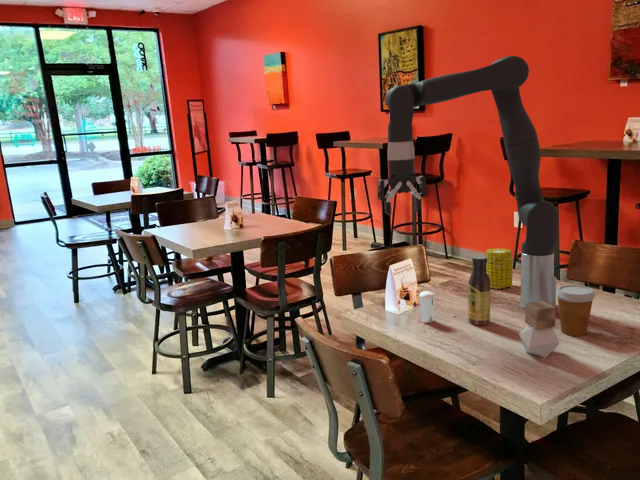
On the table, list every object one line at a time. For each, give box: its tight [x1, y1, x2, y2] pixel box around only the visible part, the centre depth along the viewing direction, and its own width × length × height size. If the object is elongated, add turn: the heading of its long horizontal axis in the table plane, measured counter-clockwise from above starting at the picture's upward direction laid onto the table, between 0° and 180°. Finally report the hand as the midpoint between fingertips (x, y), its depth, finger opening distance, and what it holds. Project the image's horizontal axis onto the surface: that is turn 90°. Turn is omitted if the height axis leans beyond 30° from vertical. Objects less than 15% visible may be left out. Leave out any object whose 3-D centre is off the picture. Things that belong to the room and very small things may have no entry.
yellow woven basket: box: [485, 247, 514, 290], centre depth 192 cm, size 14×11×9 cm
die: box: [518, 324, 561, 359], centre depth 138 cm, size 8×9×10 cm
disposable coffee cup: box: [556, 284, 596, 337], centre depth 149 cm, size 10×10×12 cm
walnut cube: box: [524, 301, 557, 329], centre depth 137 cm, size 5×5×5 cm
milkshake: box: [418, 288, 439, 324], centre depth 164 cm, size 4×5×10 cm
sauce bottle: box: [467, 254, 492, 326], centre depth 159 cm, size 7×6×20 cm
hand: (402, 213), depth 163 cm, fingers open, 8 cm apart
